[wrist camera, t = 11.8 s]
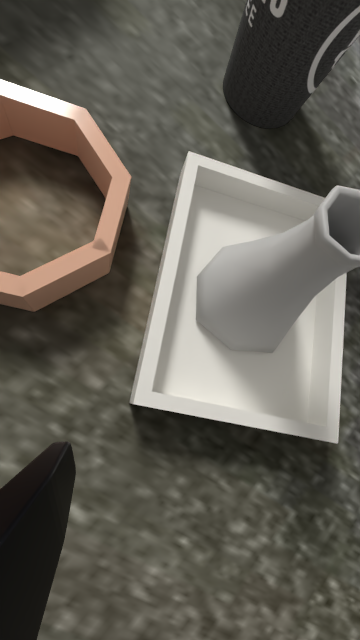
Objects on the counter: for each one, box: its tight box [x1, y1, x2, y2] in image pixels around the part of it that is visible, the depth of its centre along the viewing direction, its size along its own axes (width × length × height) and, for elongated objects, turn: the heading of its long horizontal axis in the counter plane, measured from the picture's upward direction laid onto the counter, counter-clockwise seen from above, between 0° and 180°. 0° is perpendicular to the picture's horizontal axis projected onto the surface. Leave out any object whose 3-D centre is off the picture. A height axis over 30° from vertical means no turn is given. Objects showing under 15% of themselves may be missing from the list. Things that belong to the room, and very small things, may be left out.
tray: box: [129, 151, 347, 444], centre depth 21 cm, size 16×12×2 cm
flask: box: [196, 185, 360, 353], centre depth 17 cm, size 7×7×10 cm
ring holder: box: [0, 79, 131, 312], centre depth 19 cm, size 12×12×3 cm
